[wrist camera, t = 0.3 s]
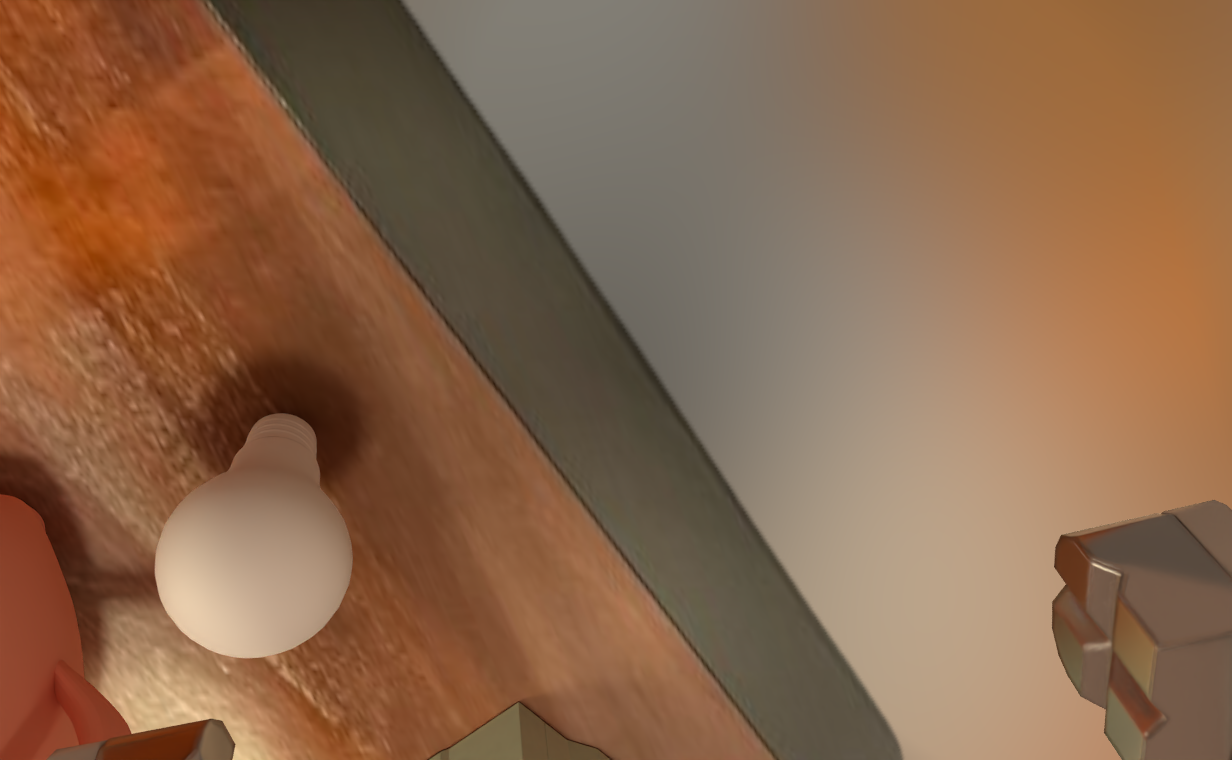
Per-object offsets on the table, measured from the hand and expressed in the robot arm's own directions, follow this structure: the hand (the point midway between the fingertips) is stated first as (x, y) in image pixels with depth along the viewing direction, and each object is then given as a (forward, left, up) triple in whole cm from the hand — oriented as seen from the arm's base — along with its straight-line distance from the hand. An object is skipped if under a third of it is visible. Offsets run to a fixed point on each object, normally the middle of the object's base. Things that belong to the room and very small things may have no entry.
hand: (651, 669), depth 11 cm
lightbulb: (+7, -17, -30) cm, 35 cm away
